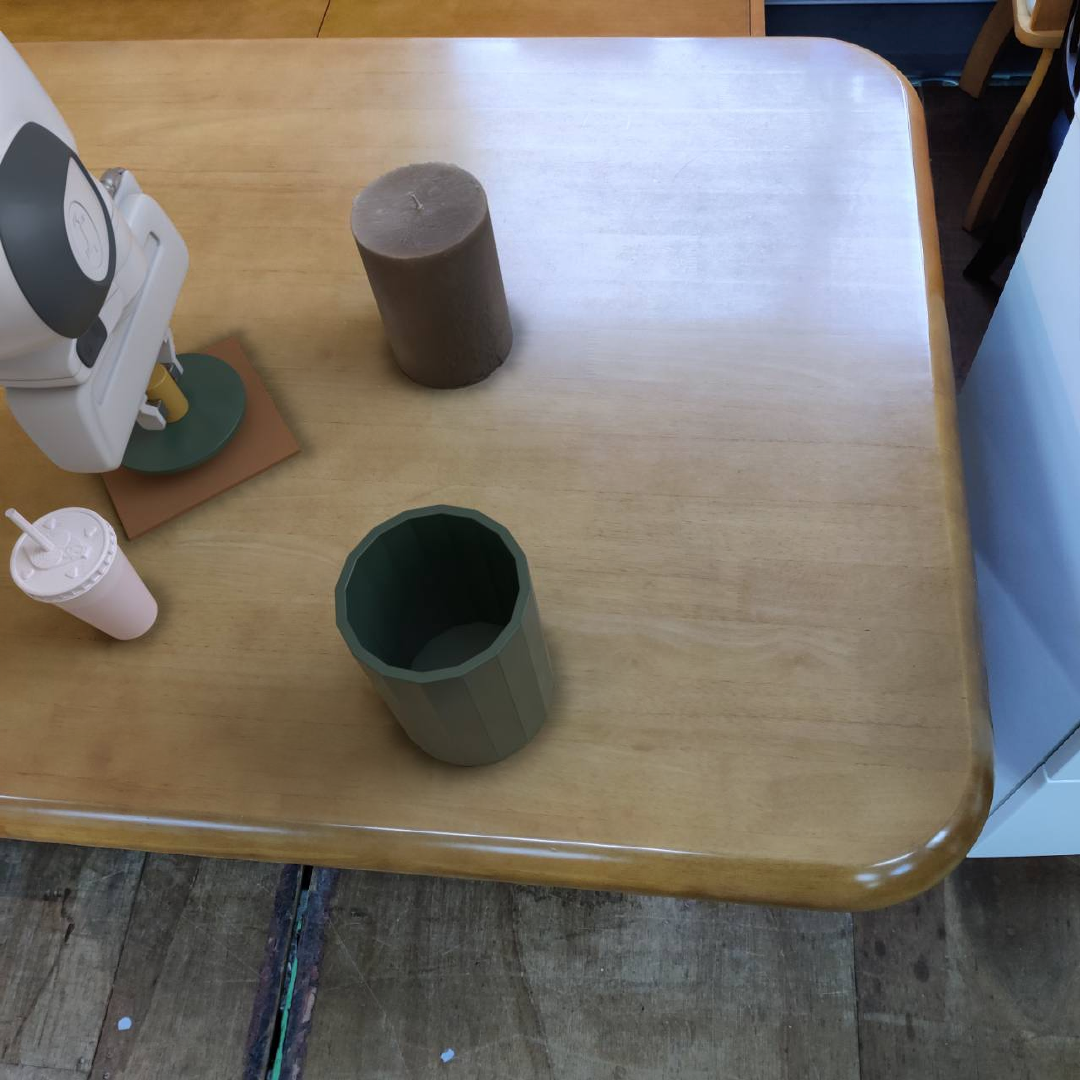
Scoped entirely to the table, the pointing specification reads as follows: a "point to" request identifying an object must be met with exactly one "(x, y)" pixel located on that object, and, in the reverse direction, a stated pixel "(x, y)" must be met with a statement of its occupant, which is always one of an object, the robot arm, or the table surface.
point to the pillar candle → (434, 272)
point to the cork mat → (240, 460)
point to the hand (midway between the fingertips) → (164, 401)
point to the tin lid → (188, 416)
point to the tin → (449, 632)
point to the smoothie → (81, 571)
